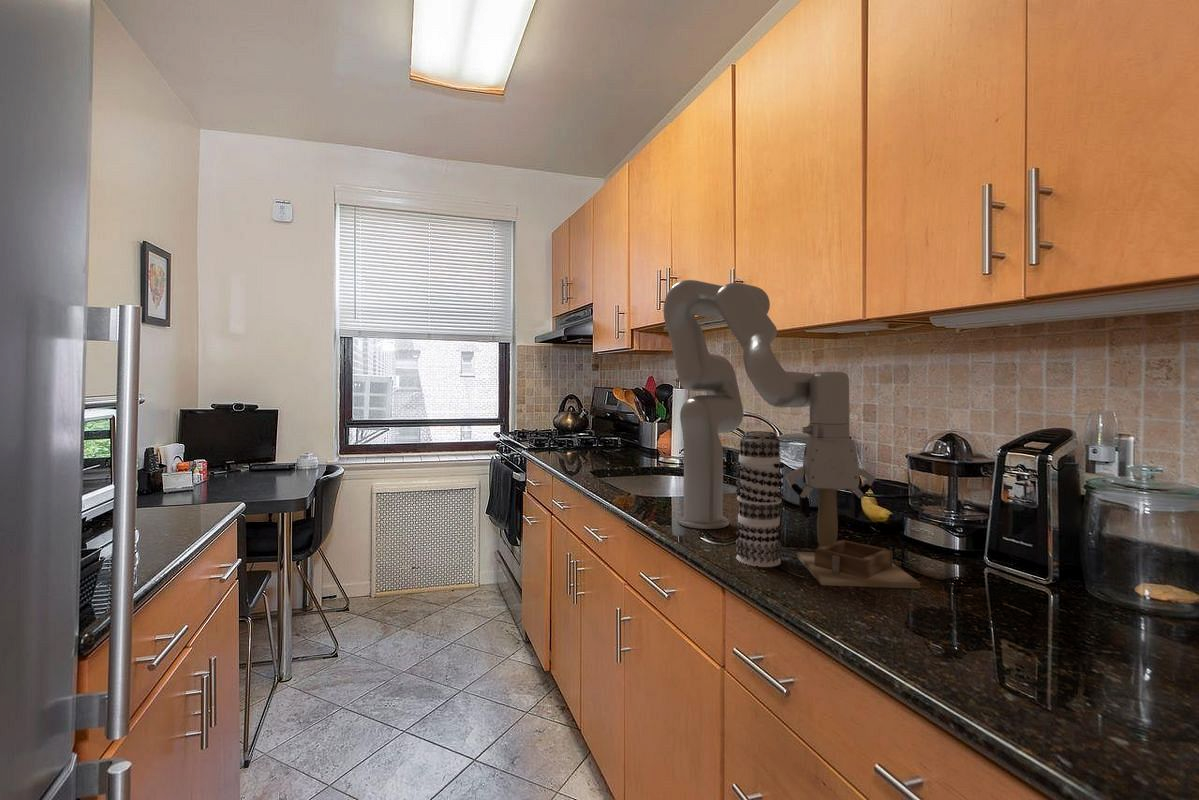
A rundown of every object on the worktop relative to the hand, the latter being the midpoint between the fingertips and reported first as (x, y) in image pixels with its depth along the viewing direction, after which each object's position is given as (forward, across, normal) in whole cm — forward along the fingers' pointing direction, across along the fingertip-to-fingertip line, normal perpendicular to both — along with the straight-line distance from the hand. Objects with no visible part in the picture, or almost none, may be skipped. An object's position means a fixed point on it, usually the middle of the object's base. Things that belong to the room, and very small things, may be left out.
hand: (830, 516), depth 114 cm
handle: (+8, 0, 0) cm, 8 cm away
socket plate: (+8, 0, -12) cm, 14 cm away
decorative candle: (+7, -16, -6) cm, 18 cm away
